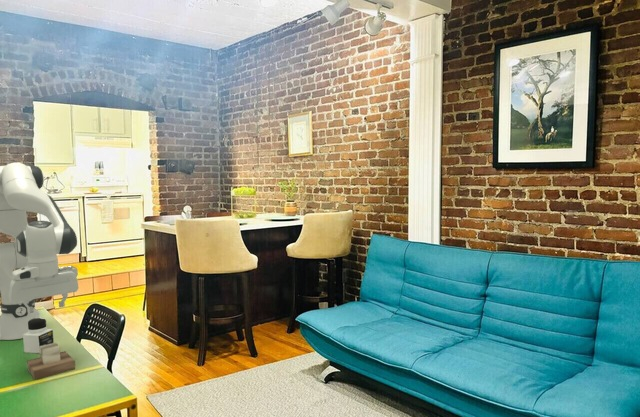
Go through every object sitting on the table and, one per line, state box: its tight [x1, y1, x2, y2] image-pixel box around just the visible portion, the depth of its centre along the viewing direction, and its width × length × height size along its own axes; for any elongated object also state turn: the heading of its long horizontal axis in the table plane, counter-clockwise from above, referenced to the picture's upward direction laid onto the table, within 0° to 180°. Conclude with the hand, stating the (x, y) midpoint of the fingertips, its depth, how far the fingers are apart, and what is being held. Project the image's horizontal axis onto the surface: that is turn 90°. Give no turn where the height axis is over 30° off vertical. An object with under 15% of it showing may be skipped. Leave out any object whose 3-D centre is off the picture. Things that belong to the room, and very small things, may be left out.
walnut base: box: [26, 350, 76, 381], centre depth 164 cm, size 12×12×3 cm
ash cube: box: [39, 342, 61, 365], centre depth 163 cm, size 5×5×5 cm
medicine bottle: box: [22, 317, 55, 354], centre depth 182 cm, size 7×7×12 cm
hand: (46, 309), depth 162 cm, fingers open, 8 cm apart
